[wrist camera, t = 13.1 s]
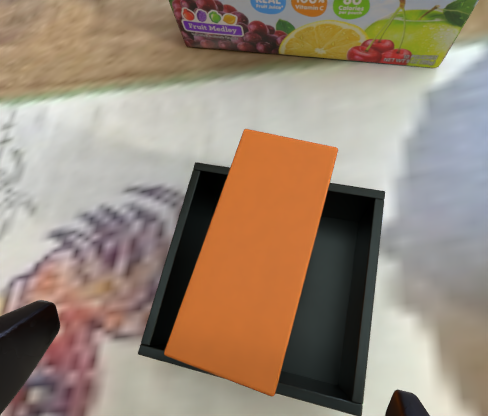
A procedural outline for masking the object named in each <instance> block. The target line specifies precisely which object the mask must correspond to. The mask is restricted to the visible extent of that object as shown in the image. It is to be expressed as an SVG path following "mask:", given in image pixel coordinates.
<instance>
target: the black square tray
mask: <svg viewBox="0 0 488 416" xmlns="http://www.w3.org/2000/svg"><path fill="white" fill-rule="evenodd" d="M229 170H230V168H229V167H222V166H216V165H209V164H203V163H195V165H194V169H193V172H192V175H191V179H190V182H189V185H188V189H187V192H186V195H185V199H184V202H183V205H182V209H181V212H180V215H179V218H178V222H177V225H176V228H175V232H174V235H173V238H172V242H171V245H170V248H169V252H168V255H167V258H166V262H165V265H164V268H163V272H162V275H161V278H160V282H159V285H158V288H157V291H156V295H155V298H154V301H153V305H152V308H151V311H150V315H149V318H148V321H147V325H146V328H145V331H144V335H143V338H142V341H141V345H140V348H139V351H138V354H139V355H142V356H146V357H149V358H153V359H157V360H160V361H164V362H167V363H171V364H174V365H178V366H181V367H185V368H188V369H192V370H196V371H199V372H203V373H206V374H210V375H213V376H217V375H214V374H212V373H209V372H207V371H204V370H201V369H199V368H196V367H193V366H191V365H188V364H186V363H183V362H180V361H178V360H175V359H173V358H170V357H167V356H165V355H164V351H165V348H166V346H167V343H168V340H169V337H170V335H171V332H172V329H173V326H174V323H175V321H176V318H177V315H178V312H179V309H180V307H181V304H182V301H183V298H184V296H185V293H186V290H187V287H188V284H189V282H190V279H191V276H192V273H193V271H194V268H195V265H196V262H197V259H198V257H199V254H200V251H201V248H202V245H203V243H204V240H205V237H206V234H207V232H208V229H209V226H210V223H211V220H212V218H213V215H214V212H215V209H216V206H217V204H218V201H219V198H220V195H221V193H222V190H223V187H224V184H225V181H226V179H227V176H228V173H229ZM384 198H385V191H380V190H373V189H367V188H360V187H353V186H347V185H340V184H334V183H329V187H328V191H327V195H326V199H325V203H324V206H323V210H322V214H321V218H320V222H319V226H318V230H317V234H316V237H315V241H314V245H313V249H312V253H311V257H310V261H309V264H308V268H307V272H306V276H305V280H304V284H303V288H302V291H301V295H300V299H299V303H298V307H297V311H296V315H295V319H294V322H293V326H292V330H291V334H290V338H289V342H288V346H287V349H286V353H285V357H284V361H283V365H282V369H281V373H280V376H279V380H278V384H277V388H276V392H275V393H277V394H281V395H284V396H288V397H291V398H295V399H299V400H302V401H306V402H309V403H313V404H316V405H320V406H323V407H327V408H331V409H334V410H338V411H341V412H345V413H348V414H352V415H355V416H362V407H363V406H362V404H363V397H364V388H365V378H366V369H367V359H368V350H369V340H370V331H371V321H372V312H373V302H374V293H375V283H376V274H377V264H378V255H379V245H380V236H381V226H382V217H383V207H384ZM217 377H220V376H217ZM220 378H222V377H220ZM224 379H225V378H224Z"/></svg>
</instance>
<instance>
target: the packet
mask: <svg viewBox="0 0 488 416" xmlns="http://www.w3.org/2000/svg"><path fill="white" fill-rule="evenodd" d="M337 152H338V148H336V147H332V146H327V145H322V144H317V143H312V142H307V141H302V140H298V139H293V138H288V137H283V136H278V135H273V134H268V133H263V132H259V131H254V130H249V129H244V131H243V134H242V137H241V140H240V142H239V145H238V148H237V151H236V154H235V156H234V159H233V162H232V165H231V167H230V170H229V173H228V176H227V179H226V181H225V184H224V187H223V190H222V193H221V195H220V198H219V201H218V204H217V206H216V209H215V212H214V215H213V218H212V220H211V223H210V226H209V229H208V232H207V234H206V237H205V240H204V243H203V245H202V248H201V251H200V254H199V257H198V259H197V262H196V265H195V268H194V271H193V273H192V276H191V279H190V282H189V284H188V287H187V290H186V293H185V296H184V298H183V301H182V304H181V307H180V309H179V312H178V315H177V318H176V321H175V323H174V326H173V329H172V332H171V335H170V337H169V340H168V343H167V346H166V348H165V351H164V355H165V356H167V357H170V358H173V359H175V360H178V361H180V362H183V363H186V364H188V365H191V366H193V367H196V368H199V369H201V370H204V371H207V372H209V373H212V374H214V375H217V376H220V377H222V378H225V379H227V380H230V381H233V382H235V383H238V384H240V385H243V386H246V387H248V388H251V389H253V390H256V391H259V392H261V393H264V394H266V395H269V396H274V395H275V392H276V388H277V384H278V380H279V376H280V373H281V369H282V365H283V361H284V357H285V353H286V349H287V346H288V342H289V338H290V334H291V330H292V326H293V322H294V319H295V315H296V311H297V307H298V303H299V299H300V295H301V291H302V288H303V284H304V280H305V276H306V272H307V268H308V264H309V261H310V257H311V253H312V249H313V245H314V241H315V237H316V234H317V230H318V226H319V222H320V218H321V214H322V210H323V206H324V203H325V199H326V195H327V191H328V187H329V183H330V179H331V176H332V172H333V168H334V164H335V160H336V156H337Z"/></svg>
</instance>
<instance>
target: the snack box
mask: <svg viewBox="0 0 488 416" xmlns="http://www.w3.org/2000/svg"><path fill="white" fill-rule="evenodd" d="M478 1H479V0H169V2H170V5H171V8H172V10H173V13H174V16H175V18H176V21H177V23H178V26H179V28H180V31H181V34H182V36H183V39H184V41H185V44H186V46H187V47H201V48H213V49H225V50H237V51H248V52H260V53H272V54H285V55H295V56H307V57H319V58H329V59H341V60H352V61H363V62H375V63H386V64H397V65H408V66H419V67H431V68H436V67H438V66H439V65H440V64H441V62H442V61H443V59H444V58H445V56H446V54H447V53H448V51H449V49H450V48H451V46H452V44H453V43H454V41H455V39H456V38H457V36H458V34H459V33H460V31H461V29H462V28H463V26H464V24H465V23H466V21H467V19H468V18H469V16H470V14H471V12H472V11H473V9H474V7H475V6H476V4H477V2H478Z"/></svg>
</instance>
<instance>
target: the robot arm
mask: <svg viewBox="0 0 488 416" xmlns="http://www.w3.org/2000/svg"><path fill="white" fill-rule="evenodd" d="M59 329H60V321H59V317H58V313H57V309H56V306H55V304H54V303H52V302H48V301H44V300H39V301H36V302H33V303H31V304H28V305H26V306H24V307H21V308H19V309H17V310H14V311H12V312H10V313H7V314H5V315H2V316H0V415H1V413H2V412H3V411H4V410H5V408H6V407H7V406H8V405H9V403H10V402H11V401H12V399H13V398H14V397H15V396H16V394H17V393H18V392H19V390H20V389H21V388H22V386H23V385H24V384H25V382H26V381H27V379H28V378H29V376H30V375H31V373H32V372H33V370H34V369H35V367H36V366H37V364H38V363H39V361H40V360H41V358H42V357H43V355H44V354H45V352H46V350H47V349H48V347H49V346H50V344H51V343H52V341H53V340H54V338H55V337H56V335H57V334H58V332H59ZM385 416H430V415H429V414H428V412H427V411H426V409H425V408H424V406H423V405H422V403H421V402H420V400H419V399H418V397H417V396H416V395H414V394H413V393H410V392H406V391H402V390H396V391H394V393H393V395H392V398H391V400H390V403H389V405H388V408H387V410H386V414H385Z"/></svg>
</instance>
